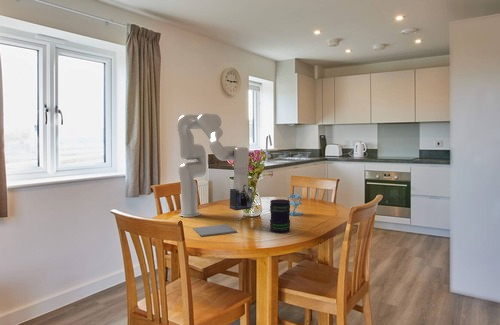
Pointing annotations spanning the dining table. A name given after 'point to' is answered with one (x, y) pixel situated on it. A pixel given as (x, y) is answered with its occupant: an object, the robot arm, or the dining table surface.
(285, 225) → the storage jar
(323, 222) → the dining table surface
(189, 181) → the robot arm
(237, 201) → the small box
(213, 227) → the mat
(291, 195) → the chair
